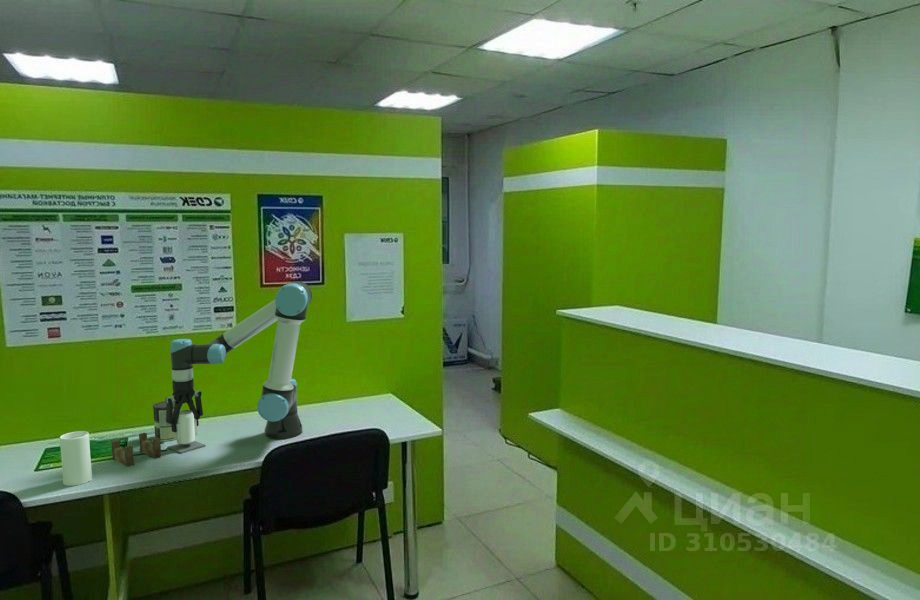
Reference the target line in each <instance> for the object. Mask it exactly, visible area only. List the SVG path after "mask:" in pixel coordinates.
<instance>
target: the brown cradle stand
mask: <svg viewBox="0 0 920 600" xmlns="http://www.w3.org/2000/svg"><path fill="white" fill-rule="evenodd" d="M138 437H139V438H138V440H139V441H138V442H139V452H140V453H143V454H144V455H147V456H149V457H152V458H155V459H159V458H161V457H162V448H161V447H162V445H161V441H160V438H155V437H153V438H152V439H151V440H149V439H148V433H147V432H140V433H139V434H138ZM120 443H121V441H120V440H118V439H115V440H111V444H110V445H111V454H112V455H111V457H112V461H115V462H117V463H119V464H122V465H124V466H126V467H132V466H134V465H135V463H134V462H135V461H134V448H133V447H134V446H133V445H131V444H130V445H126V446H124V448H123V447H121V444H120Z"/></svg>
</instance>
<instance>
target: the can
mask: <svg viewBox="0 0 920 600" xmlns="http://www.w3.org/2000/svg"><path fill="white" fill-rule="evenodd" d="M192 412H193V411H192V410H190V409H184V410H182V409H181V411H180V413H179V417H178V421H177V423H178V424H179V432H180V440H179V441H178V440H176V444H190V443H193V442H194V441H196V436H195V426H194V414H193V413H192Z"/></svg>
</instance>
